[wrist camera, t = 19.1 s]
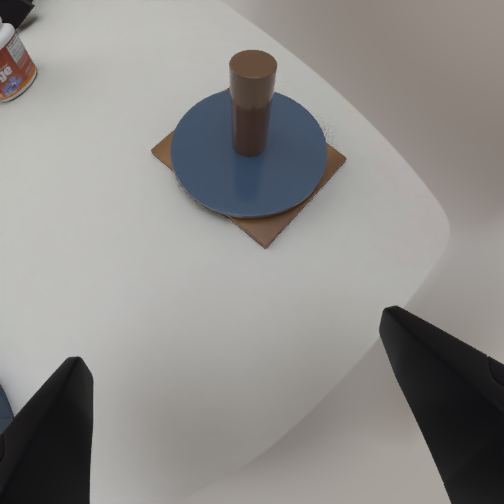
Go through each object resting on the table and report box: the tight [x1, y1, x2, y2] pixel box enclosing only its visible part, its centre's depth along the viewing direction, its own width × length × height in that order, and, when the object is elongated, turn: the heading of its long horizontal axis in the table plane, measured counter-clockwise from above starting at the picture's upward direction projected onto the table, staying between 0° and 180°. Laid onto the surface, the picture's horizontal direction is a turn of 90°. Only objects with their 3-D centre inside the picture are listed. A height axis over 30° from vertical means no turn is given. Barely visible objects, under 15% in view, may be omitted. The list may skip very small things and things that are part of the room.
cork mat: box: [151, 87, 346, 249], centre depth 24 cm, size 12×10×1 cm
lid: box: [170, 50, 327, 218], centre depth 20 cm, size 12×12×9 cm
